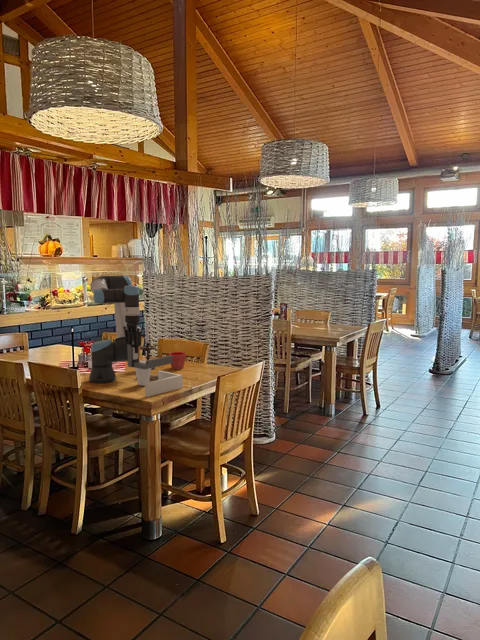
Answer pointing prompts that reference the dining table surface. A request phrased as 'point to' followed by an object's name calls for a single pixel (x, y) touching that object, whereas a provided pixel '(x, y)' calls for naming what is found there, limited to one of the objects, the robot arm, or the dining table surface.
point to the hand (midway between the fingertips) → (133, 358)
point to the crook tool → (148, 363)
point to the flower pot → (178, 360)
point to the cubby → (164, 383)
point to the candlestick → (147, 343)
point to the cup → (143, 375)
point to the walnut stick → (152, 377)
